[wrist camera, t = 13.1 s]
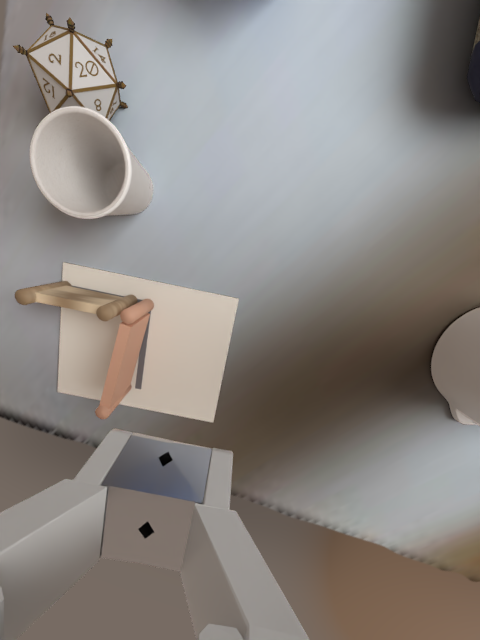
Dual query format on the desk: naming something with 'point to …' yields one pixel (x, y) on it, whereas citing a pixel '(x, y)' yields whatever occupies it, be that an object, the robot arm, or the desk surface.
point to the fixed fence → (76, 299)
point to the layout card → (150, 344)
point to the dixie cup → (87, 166)
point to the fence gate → (124, 356)
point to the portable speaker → (475, 67)
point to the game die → (74, 70)
